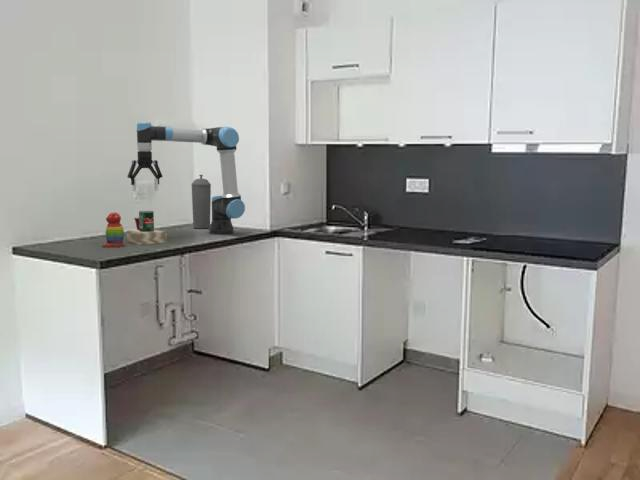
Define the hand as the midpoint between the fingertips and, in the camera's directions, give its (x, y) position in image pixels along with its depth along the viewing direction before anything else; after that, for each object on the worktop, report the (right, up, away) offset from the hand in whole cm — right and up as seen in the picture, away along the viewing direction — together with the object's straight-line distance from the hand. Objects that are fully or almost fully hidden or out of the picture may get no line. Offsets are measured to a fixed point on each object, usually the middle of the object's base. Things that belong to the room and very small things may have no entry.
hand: (145, 190), depth 339 cm
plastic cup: (-7, -25, +23) cm, 35 cm away
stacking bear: (-13, -30, -12) cm, 35 cm away
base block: (0, -28, +4) cm, 28 cm away
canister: (+18, -19, +69) cm, 73 cm away
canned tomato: (0, -22, +3) cm, 23 cm away
